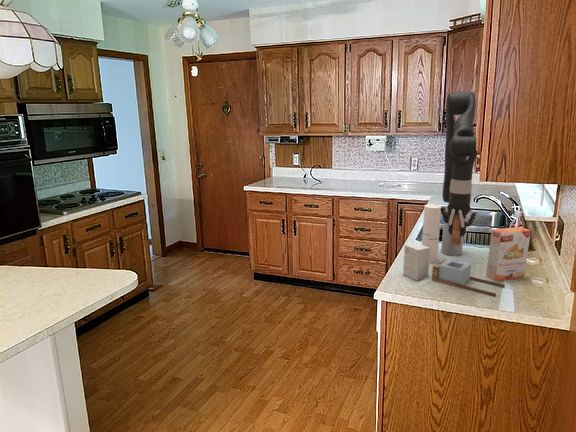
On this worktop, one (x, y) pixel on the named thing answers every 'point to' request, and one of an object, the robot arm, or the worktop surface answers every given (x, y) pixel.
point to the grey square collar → (454, 271)
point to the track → (435, 278)
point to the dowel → (456, 231)
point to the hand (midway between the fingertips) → (456, 234)
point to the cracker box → (508, 253)
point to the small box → (416, 261)
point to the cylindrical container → (431, 230)
